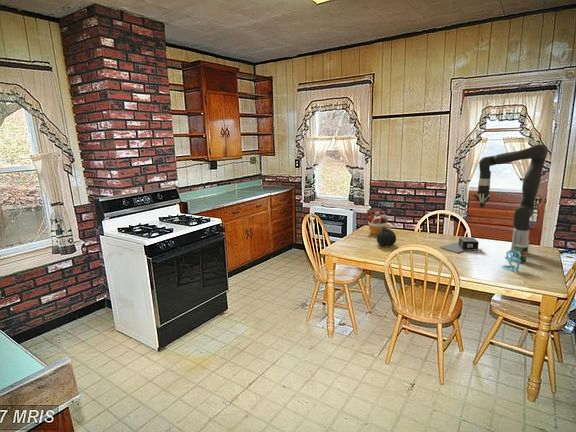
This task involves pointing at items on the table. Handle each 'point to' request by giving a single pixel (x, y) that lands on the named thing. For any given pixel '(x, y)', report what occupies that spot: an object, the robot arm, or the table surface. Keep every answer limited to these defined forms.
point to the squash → (386, 237)
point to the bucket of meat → (376, 222)
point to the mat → (453, 248)
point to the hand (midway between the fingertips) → (481, 207)
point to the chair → (512, 260)
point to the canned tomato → (521, 252)
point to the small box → (468, 243)
